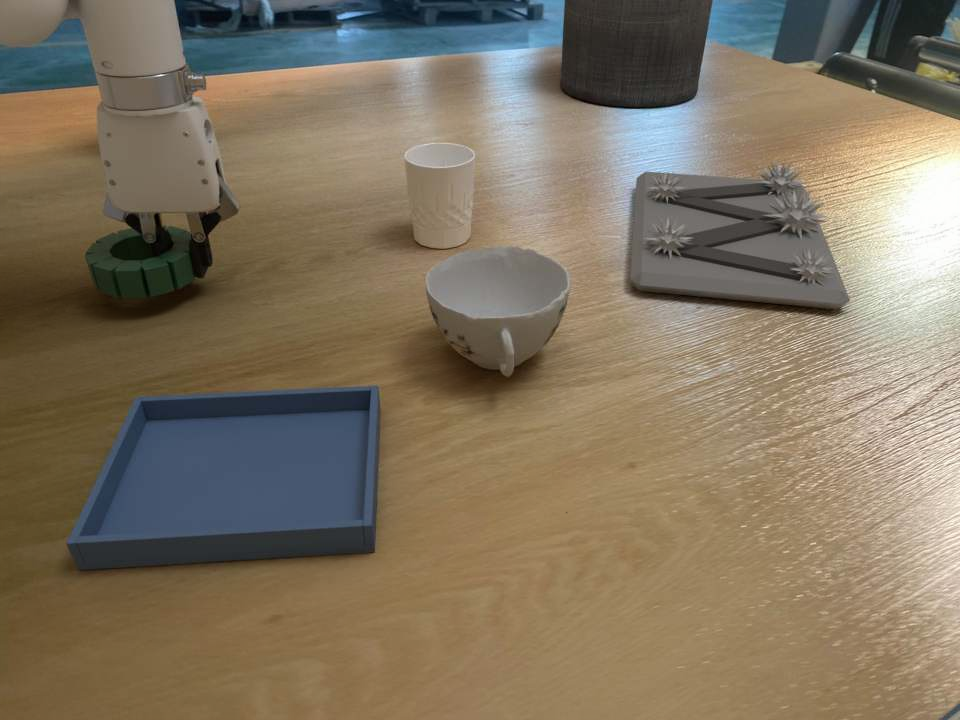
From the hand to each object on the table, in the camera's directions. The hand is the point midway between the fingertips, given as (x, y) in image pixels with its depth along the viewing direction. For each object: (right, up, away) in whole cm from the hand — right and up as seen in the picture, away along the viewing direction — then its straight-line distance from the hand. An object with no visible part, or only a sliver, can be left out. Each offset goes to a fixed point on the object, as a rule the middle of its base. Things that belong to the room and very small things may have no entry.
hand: (186, 271), depth 78 cm
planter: (+58, +41, +64) cm, 95 cm away
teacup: (+32, -9, -9) cm, 34 cm away
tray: (+13, -18, -22) cm, 31 cm away
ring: (-4, 0, 0) cm, 4 cm away
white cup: (+26, +5, +12) cm, 29 cm away
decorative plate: (+59, +5, +11) cm, 60 cm away
